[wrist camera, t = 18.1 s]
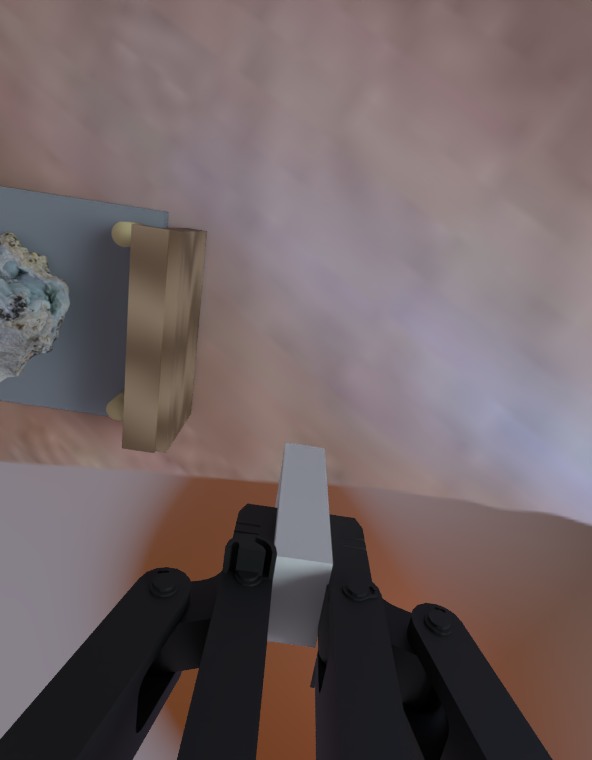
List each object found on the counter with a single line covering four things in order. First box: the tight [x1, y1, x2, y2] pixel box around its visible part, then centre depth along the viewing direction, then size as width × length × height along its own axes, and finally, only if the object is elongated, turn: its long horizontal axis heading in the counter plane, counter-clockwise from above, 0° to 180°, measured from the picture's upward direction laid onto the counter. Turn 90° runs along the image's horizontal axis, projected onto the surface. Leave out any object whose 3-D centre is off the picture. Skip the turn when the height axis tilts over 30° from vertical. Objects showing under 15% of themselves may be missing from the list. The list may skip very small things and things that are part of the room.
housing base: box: [0, 186, 168, 421], centre depth 39 cm, size 18×20×4 cm
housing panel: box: [122, 224, 207, 453], centre depth 37 cm, size 16×3×8 cm, turn 172°
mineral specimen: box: [0, 232, 70, 382], centre depth 38 cm, size 10×8×10 cm
